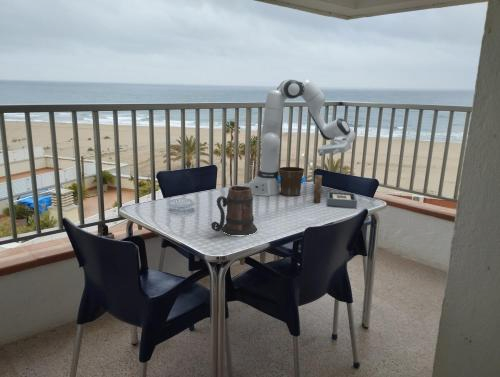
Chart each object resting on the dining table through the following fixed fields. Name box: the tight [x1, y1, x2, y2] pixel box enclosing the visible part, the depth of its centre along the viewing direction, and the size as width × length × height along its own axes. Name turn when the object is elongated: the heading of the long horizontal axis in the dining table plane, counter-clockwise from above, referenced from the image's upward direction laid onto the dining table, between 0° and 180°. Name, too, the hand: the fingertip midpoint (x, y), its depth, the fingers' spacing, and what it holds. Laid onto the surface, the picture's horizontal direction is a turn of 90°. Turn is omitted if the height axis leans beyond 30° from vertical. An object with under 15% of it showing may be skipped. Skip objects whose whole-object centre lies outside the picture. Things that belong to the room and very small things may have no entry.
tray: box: [326, 191, 358, 209], centre depth 211 cm, size 16×16×4 cm
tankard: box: [210, 185, 258, 236], centre depth 164 cm, size 24×17×20 cm
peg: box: [312, 174, 323, 204], centre depth 211 cm, size 4×4×16 cm
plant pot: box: [278, 166, 305, 197], centre depth 229 cm, size 16×16×16 cm
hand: (326, 154), depth 216 cm, fingers open, 8 cm apart
